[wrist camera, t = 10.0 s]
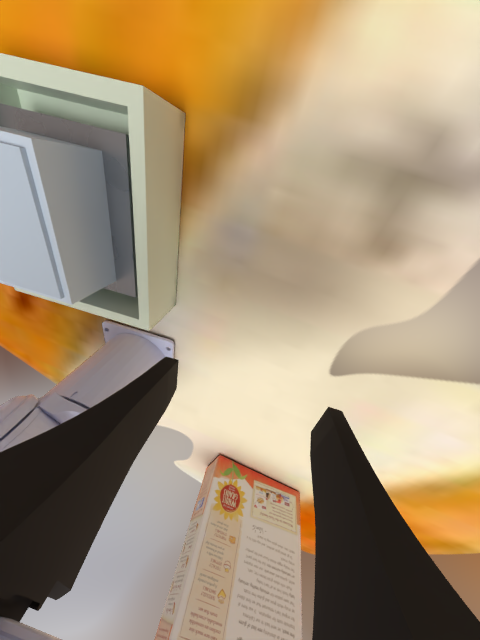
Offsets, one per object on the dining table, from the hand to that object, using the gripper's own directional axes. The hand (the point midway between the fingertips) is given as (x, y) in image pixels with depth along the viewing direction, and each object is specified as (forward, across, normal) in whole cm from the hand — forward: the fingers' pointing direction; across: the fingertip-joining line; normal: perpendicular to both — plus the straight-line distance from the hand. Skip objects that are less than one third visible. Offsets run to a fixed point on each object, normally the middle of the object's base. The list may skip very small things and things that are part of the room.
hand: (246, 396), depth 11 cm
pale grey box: (+7, +14, -4) cm, 16 cm away
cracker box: (+10, -6, +30) cm, 33 cm away
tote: (+10, +14, -4) cm, 18 cm away
